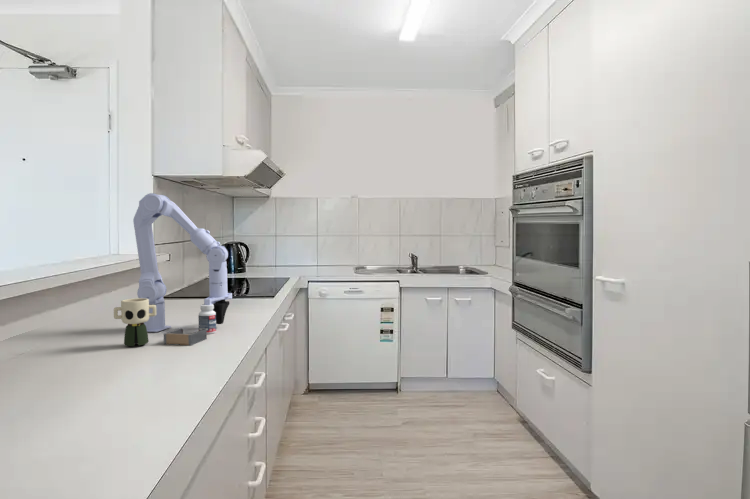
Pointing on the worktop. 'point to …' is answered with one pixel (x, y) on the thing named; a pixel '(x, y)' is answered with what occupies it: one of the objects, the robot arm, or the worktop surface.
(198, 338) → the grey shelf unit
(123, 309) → the character mug
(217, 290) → the robot arm
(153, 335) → the worktop surface
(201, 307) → the pill bottle
